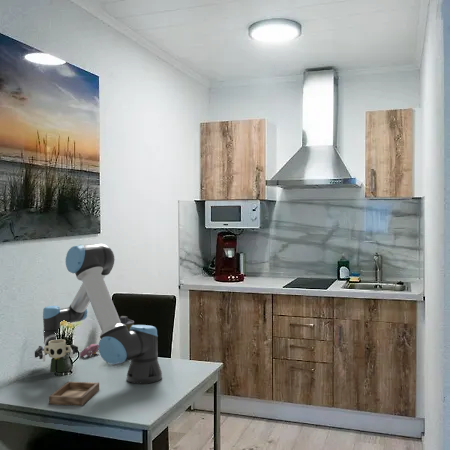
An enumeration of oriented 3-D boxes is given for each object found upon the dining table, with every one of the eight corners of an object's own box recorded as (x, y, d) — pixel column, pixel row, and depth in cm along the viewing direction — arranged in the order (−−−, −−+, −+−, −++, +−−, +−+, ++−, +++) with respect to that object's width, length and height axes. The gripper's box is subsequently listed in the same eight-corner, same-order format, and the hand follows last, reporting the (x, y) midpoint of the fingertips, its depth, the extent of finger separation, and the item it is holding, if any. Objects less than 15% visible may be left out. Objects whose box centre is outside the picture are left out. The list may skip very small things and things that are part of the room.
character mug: (42, 375, 220) (41, 343, 219) (46, 369, 227) (45, 339, 227) (69, 373, 221) (68, 342, 221) (72, 368, 228) (71, 338, 228)
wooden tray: (99, 389, 217) (99, 382, 217) (82, 405, 200) (82, 397, 200) (68, 388, 219) (68, 381, 219) (48, 404, 202) (48, 396, 202)
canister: (130, 359, 260) (129, 319, 260) (110, 358, 263) (109, 318, 262) (138, 353, 271) (137, 314, 270) (118, 352, 273) (118, 314, 272)
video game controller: (84, 361, 264) (88, 349, 262) (78, 355, 266) (82, 344, 264) (98, 356, 273) (102, 344, 271) (92, 351, 275) (96, 339, 273)
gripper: (80, 349, 245) (86, 362, 224) (27, 355, 236) (29, 369, 216) (79, 333, 245) (86, 344, 224) (26, 339, 236) (28, 350, 215)
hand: (58, 356), depth 220 cm, fingers closed on character mug, 10 cm apart
